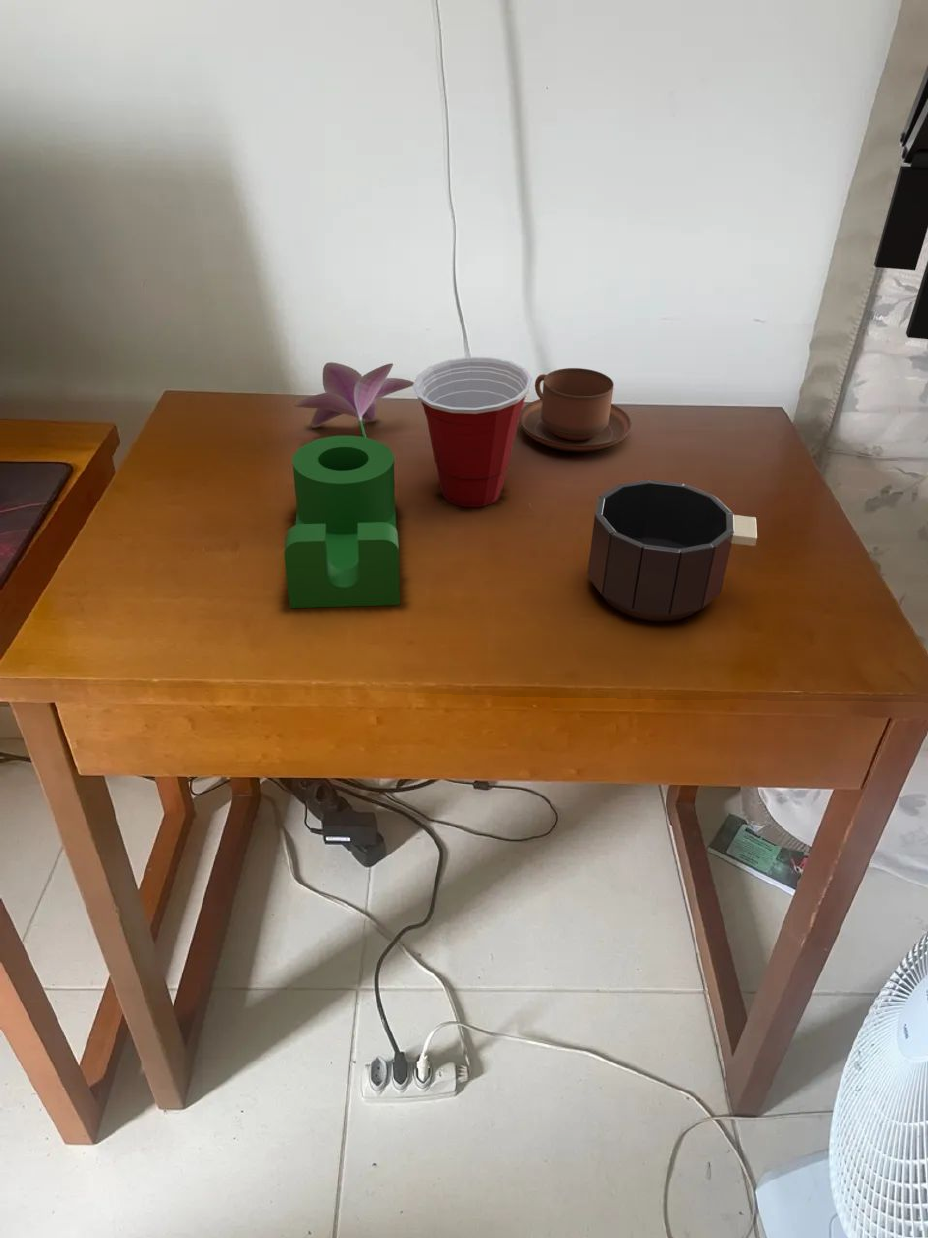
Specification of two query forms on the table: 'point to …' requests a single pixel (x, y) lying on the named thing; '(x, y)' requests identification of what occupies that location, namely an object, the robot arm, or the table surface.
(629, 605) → the cooking pot
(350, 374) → the lily
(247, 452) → the table surface
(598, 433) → the cup and saucer
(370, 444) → the green bracket
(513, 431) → the plastic cup
